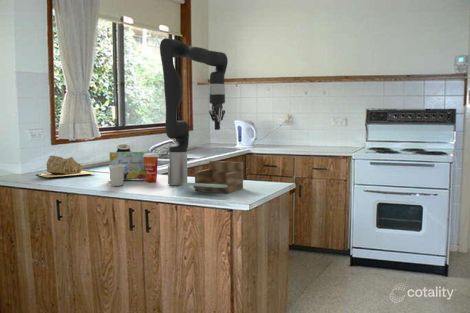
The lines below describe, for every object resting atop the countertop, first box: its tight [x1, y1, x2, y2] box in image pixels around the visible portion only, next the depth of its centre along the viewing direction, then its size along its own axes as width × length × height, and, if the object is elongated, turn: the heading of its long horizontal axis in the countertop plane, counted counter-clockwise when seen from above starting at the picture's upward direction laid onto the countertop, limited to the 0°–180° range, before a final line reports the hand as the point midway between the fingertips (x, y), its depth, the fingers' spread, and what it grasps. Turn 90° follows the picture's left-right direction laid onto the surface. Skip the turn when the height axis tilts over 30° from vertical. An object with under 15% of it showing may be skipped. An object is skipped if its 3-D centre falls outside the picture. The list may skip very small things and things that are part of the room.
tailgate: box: [182, 182, 228, 189], centre depth 230 cm, size 18×2×10 cm
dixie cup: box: [108, 164, 125, 187], centre depth 259 cm, size 8×8×10 cm
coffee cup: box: [143, 152, 159, 183], centre depth 272 cm, size 8×8×15 cm
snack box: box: [109, 151, 150, 181], centre depth 276 cm, size 21×6×15 cm, turn 106°
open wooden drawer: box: [194, 160, 244, 194], centre depth 243 cm, size 18×16×13 cm
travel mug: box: [116, 143, 132, 152], centre depth 282 cm, size 8×8×18 cm
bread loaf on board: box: [39, 155, 93, 178], centre depth 299 cm, size 28×22×16 cm
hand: (217, 129), depth 243 cm, fingers closed
